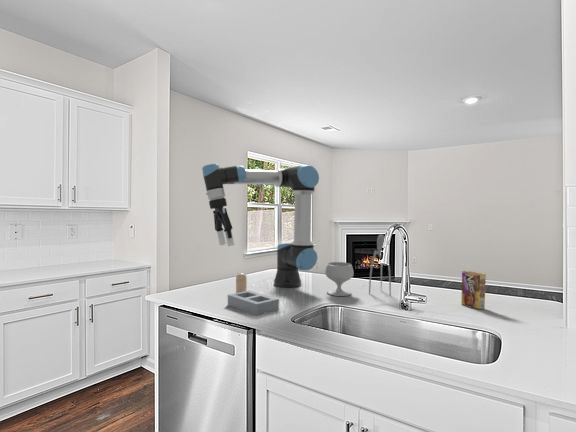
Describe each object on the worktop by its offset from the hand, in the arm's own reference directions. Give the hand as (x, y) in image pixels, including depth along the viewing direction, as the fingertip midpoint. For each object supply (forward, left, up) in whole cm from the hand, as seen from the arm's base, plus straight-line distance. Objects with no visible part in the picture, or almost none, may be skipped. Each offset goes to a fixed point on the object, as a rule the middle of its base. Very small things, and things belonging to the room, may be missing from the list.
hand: (226, 245), depth 160 cm
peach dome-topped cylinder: (-11, -4, -26) cm, 28 cm away
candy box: (-76, +79, -26) cm, 113 cm away
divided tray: (-3, +15, -26) cm, 30 cm away
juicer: (-66, +40, -26) cm, 82 cm away
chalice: (-50, +25, -26) cm, 62 cm away
